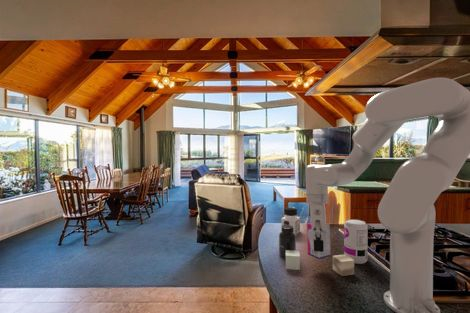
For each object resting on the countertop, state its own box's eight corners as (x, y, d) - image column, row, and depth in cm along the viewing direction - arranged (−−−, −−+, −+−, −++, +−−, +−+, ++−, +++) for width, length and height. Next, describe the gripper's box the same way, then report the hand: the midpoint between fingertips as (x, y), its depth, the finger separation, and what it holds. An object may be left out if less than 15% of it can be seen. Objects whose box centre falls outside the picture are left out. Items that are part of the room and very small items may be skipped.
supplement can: (344, 262, 94) (344, 223, 94) (343, 254, 102) (343, 218, 102) (368, 266, 91) (368, 225, 91) (365, 257, 99) (365, 219, 99)
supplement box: (331, 256, 88) (330, 223, 88) (319, 259, 86) (318, 226, 86) (318, 250, 94) (317, 220, 94) (307, 254, 91) (306, 222, 91)
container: (295, 235, 125) (295, 210, 125) (281, 233, 129) (280, 208, 129) (300, 231, 132) (300, 207, 131) (286, 229, 136) (286, 205, 136)
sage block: (299, 270, 89) (299, 256, 89) (285, 268, 90) (285, 255, 90) (299, 263, 94) (299, 251, 94) (285, 262, 95) (285, 250, 95)
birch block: (354, 274, 86) (354, 260, 86) (341, 276, 85) (341, 261, 84) (344, 267, 91) (344, 254, 90) (332, 269, 89) (332, 255, 89)
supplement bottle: (276, 257, 100) (276, 227, 100) (281, 250, 106) (281, 223, 106) (293, 260, 97) (293, 230, 97) (297, 253, 103) (297, 225, 103)
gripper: (329, 203, 80) (331, 257, 80) (327, 194, 97) (328, 239, 97) (305, 202, 83) (307, 255, 83) (307, 194, 99) (308, 238, 99)
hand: (318, 246), depth 90 cm, fingers closed on supplement box, 8 cm apart
